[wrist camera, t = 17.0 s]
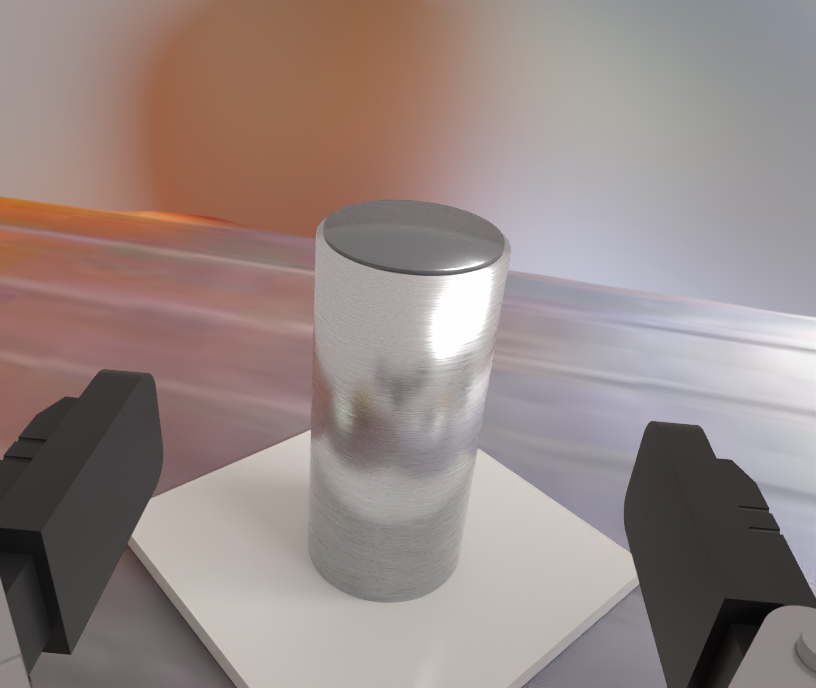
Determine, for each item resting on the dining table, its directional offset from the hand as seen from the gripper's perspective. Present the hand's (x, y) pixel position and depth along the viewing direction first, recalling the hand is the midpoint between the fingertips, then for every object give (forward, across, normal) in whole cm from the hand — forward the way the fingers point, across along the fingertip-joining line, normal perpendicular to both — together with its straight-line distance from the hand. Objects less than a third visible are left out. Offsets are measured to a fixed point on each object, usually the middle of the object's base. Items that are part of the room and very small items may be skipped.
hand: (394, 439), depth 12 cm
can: (+10, 0, +13) cm, 16 cm away
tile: (+10, 0, +14) cm, 17 cm away
